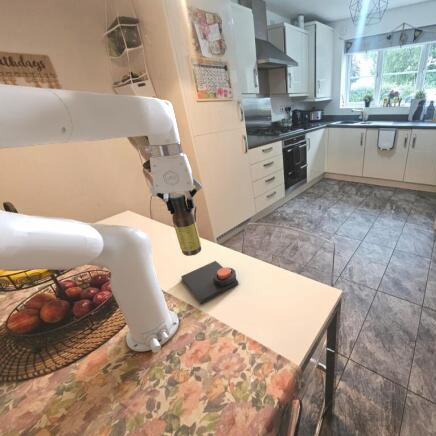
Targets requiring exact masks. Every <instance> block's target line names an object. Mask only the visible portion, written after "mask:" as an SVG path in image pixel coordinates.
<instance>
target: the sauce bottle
mask: <svg viewBox="0 0 436 436" xmlns="http://www.w3.org/2000/svg"><path fill="white" fill-rule="evenodd" d="M170 199H171V202H172V203H173V207H174V211H175V212H174V214H172V223H173V227H174V230H175V231H174V232H175V234H176V237H177V240H178V244H179V247H180V250H181V253H182V255H184V256H186V257H192V256H196V255H198V254H199V253H200V252H201V251H202V243H201V239H200V234H199V231H198V230H199V229H198V226H197V222H196V220H195V215H194V213H193V211H192V212H189V211H188V206H187V202H186V200H187V197H186V194H185V193H182V192H177V193H173V194H171V195H170Z"/></svg>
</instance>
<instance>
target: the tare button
mask: <svg viewBox="0 0 436 436" xmlns="http://www.w3.org/2000/svg"><path fill="white" fill-rule="evenodd" d="M230 268H231V267H228V268H227V267H223V268H221V269H219V270H218V271H217V275H218V278H219V279H227V278H228V277H230V276H231V270H230Z"/></svg>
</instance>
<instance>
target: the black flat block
mask: <svg viewBox="0 0 436 436" xmlns="http://www.w3.org/2000/svg"><path fill="white" fill-rule="evenodd" d="M221 268H224V267H223V266H222V265H221V264H220V263H219V262H217V260H214V261H212V262H210V263H208V264H205V265H203V266H201V267H198V268H196V269H194V270H192V271H190V272H187V273H186V274H183V275H181V276H180V277H181V280H182V282H183V283H184V284H185V285H186V287H187V288H188V289H189V291H190V292H191V293H192V294H193V296H194V297H195V299H196V300H197V301H198V302H199V304H200V305H203V304H205V303H207V302H209V301H210V300H213V299H215V298H216V297H219V296H220V295H222V294H224V293H225V292H227V291H229V290H231V289H233V288H234V287H236V286H239V281H238V279H237V273H236V271H237V270H236V269H234V268H233V267H227V268H230V270H231V276H230V277H228V278H227V279H219V278H218V275H217V271H218V270H219V269H221Z"/></svg>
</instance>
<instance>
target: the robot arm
mask: <svg viewBox="0 0 436 436" xmlns="http://www.w3.org/2000/svg"><path fill="white" fill-rule="evenodd" d="M174 111H175V110H174V107H173V105H172V103H171V101H169V100H167V99H160V98H158V97H152V96H142V95H141V96H140V95H131V94H115V93H114V94H113V93H104V92H103V93H101V92H93V91H83V90H70V89H61V88H60V89H59V88H47V87H38V86H37V87H35V86H26V85H17V84H15V85H14V84H7V83H6V84H5V83H0V150H1V149H14V148H23V147H34V146H45V145H55V144H69V143H71V144H72V143H82V142H84V143H85V142H97V141H98V142H99V141H107V140H113V139H121V138H133V137H134V138H135V137H147V139H148V144H149V145H148V146H145V147H144V150H145V153H150V154H151V156H150V157H149V167H150V173H151V179H152V185H151V187H150V189H149V193H150V194H151V195H154V196H156V197H158V198H159V199H161V200H162V201H163V202H164V203H165V204H166V207H167V212H169V213H170V215H173V214H174V212H175V211H174V207H173V203H172V202H171V199H170V196H171V193H182V192H184V195H185V197H186V204H187V206H188V211H189V212H192V213H193V209H194V208H195V204H194V199H193V198H194V197H195V195H196V194H197V193H198V192H199V191H200V190H202V188H203V184H201V183H200V181H198V180H197V179H196V178H195V177H194V174H193V170H192V167H191V164H190V162H189V158H188V156H187V153H184V152H183V147H182V143H181V139H180V133H179V129H178V124H177V120H176V115H175V112H174ZM151 242H152V241H151V238H150V237H149V236H148V234H147V233H146V232H144V231H143V230H141V229H139V228H138V227H137V228H136V227H133V226H128V225H118V224H106V223H105V224H104V223H94V222H84V221H80V220H76V219H72V218H68V217H67V218H66V217H58V216H50V215H49V216H47V215H28V214H24V213H19V212H11V211H7V210H6V211H5V210H2V209H0V271H31V270H32V271H33V270H34V271H35V270H36V271H39V270H50V271H51V270H52V271H61V270H63V271H64V270H65V271H66V270H73V269H77V268H82V267H83V266H93V267H94V266H95V267H100V268H105V269H107V270H108V271H109V272H110V278H109V288H110V292H111V293H112V295H113V298H114V299H115V301H116V302H115V303H116V304H117V305H118V308H119V310H120V313H121V315H122V317H123V319H124V322H125V324H126V326H127V328H128V331H127V333H126V337H125V342H126V344H127V347H128V348H129V349H130V350H132V351H134V352H139V353H140V352H148V351H152V353H154V354H156V353H158V352H160V351H161V350H162V345H164V344H165V343H167V342H168V341H169V340H170V339H172V337H173V336H174V335H175V333H176V332H177V330H178V328H179V325H180V324H179V323H180V320H179V317H178V314H176V313H175V312H174V311H172V310H169V308H168V305H167V301H166V299H165V294H164V292H163V290H162V286H161V284H160V281H159V278H158V275H157V272H156V269H155V265H154V260H153V251H152V250H153V249H152V243H151Z"/></svg>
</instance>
